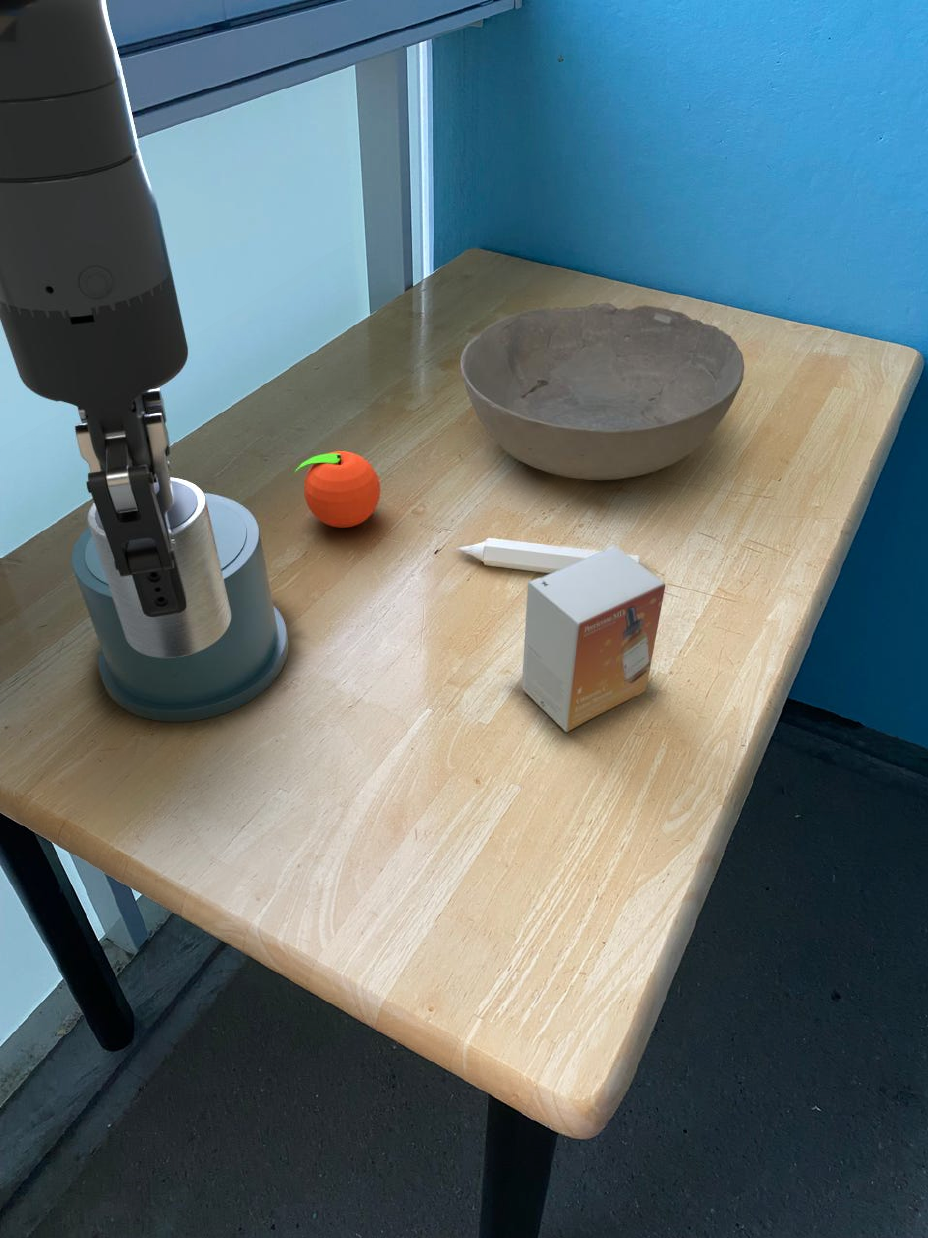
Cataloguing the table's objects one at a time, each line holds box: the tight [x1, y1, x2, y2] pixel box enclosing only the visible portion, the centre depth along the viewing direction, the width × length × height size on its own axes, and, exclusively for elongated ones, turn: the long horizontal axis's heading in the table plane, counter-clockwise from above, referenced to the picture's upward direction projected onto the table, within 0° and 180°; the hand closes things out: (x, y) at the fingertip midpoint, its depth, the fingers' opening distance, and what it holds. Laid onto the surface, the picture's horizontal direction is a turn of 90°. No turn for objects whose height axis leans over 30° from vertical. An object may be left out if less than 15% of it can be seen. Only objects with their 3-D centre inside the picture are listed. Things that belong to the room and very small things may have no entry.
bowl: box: [460, 302, 745, 481], centre depth 95 cm, size 28×28×10 cm
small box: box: [521, 544, 666, 733], centre depth 67 cm, size 8×6×10 cm
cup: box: [86, 476, 231, 658], centre depth 51 cm, size 6×6×8 cm
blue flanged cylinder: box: [71, 492, 290, 723], centre depth 70 cm, size 14×14×11 cm
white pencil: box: [454, 537, 640, 574], centre depth 81 cm, size 3×2×16 cm
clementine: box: [291, 450, 381, 529], centre depth 85 cm, size 8×7×7 cm
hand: (164, 572), depth 51 cm, fingers closed on cup, 6 cm apart
